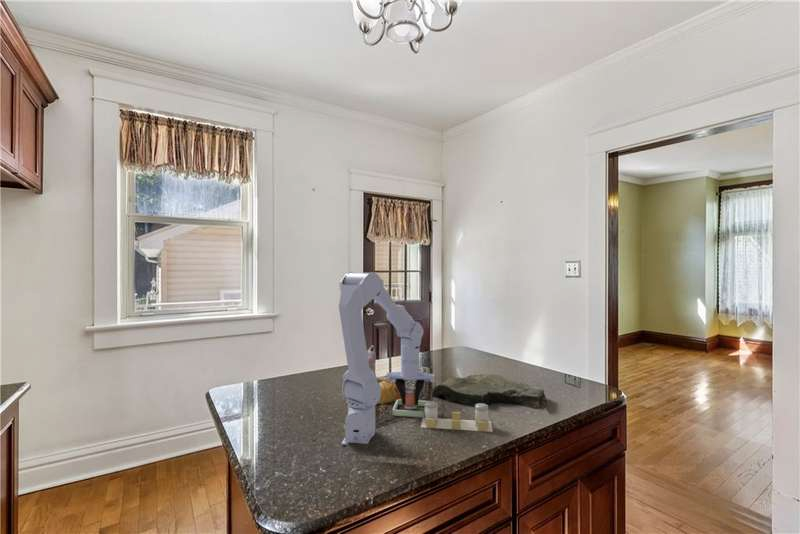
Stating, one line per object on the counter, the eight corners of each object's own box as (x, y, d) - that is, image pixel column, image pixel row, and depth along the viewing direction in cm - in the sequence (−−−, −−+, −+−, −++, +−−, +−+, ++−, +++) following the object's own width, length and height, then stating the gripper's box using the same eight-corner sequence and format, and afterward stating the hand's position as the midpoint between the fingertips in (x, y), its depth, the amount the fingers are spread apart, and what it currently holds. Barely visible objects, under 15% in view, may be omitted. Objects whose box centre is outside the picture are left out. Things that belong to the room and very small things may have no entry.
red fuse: (415, 409, 114) (415, 391, 114) (403, 409, 115) (403, 390, 115) (416, 405, 118) (416, 387, 118) (405, 404, 118) (405, 386, 118)
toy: (362, 390, 137) (362, 349, 137) (353, 375, 156) (353, 339, 155) (379, 388, 139) (379, 348, 139) (369, 373, 157) (369, 338, 157)
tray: (425, 420, 111) (425, 412, 111) (391, 418, 113) (391, 410, 113) (427, 408, 120) (427, 400, 120) (396, 406, 122) (396, 399, 122)
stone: (557, 387, 125) (510, 409, 106) (556, 406, 125) (510, 431, 106) (471, 364, 151) (421, 378, 131) (470, 380, 151) (420, 396, 132)
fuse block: (492, 435, 102) (492, 423, 102) (420, 430, 105) (420, 419, 105) (490, 424, 108) (490, 413, 108) (422, 420, 111) (422, 409, 111)
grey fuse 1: (437, 425, 105) (437, 405, 105) (424, 425, 106) (424, 405, 106) (438, 420, 109) (438, 401, 109) (425, 419, 110) (425, 400, 109)
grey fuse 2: (488, 429, 103) (488, 408, 103) (475, 428, 104) (475, 407, 104) (487, 423, 107) (487, 403, 107) (474, 422, 107) (474, 403, 107)
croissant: (354, 420, 120) (357, 402, 117) (346, 396, 129) (349, 378, 125) (414, 407, 129) (419, 390, 125) (403, 386, 137) (407, 369, 133)
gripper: (434, 357, 119) (434, 400, 119) (389, 355, 121) (389, 397, 121) (433, 363, 112) (433, 408, 112) (385, 361, 114) (385, 406, 115)
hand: (410, 403), depth 116 cm, fingers closed on red fuse, 3 cm apart
